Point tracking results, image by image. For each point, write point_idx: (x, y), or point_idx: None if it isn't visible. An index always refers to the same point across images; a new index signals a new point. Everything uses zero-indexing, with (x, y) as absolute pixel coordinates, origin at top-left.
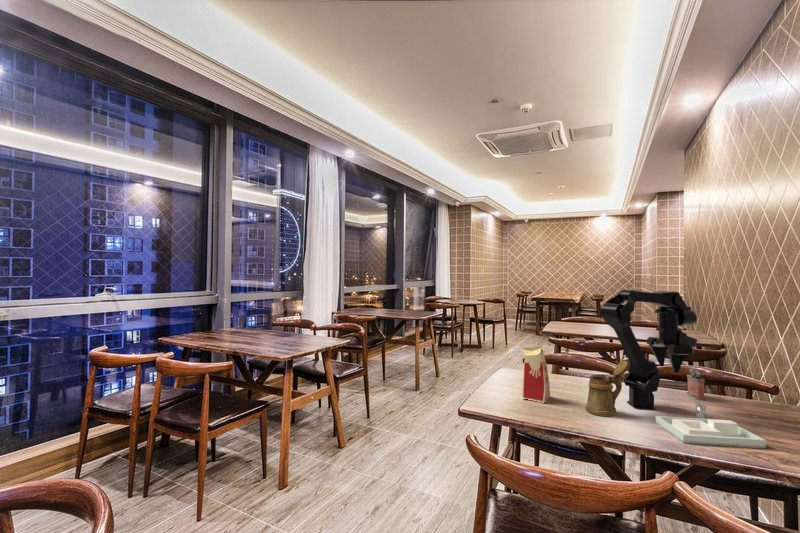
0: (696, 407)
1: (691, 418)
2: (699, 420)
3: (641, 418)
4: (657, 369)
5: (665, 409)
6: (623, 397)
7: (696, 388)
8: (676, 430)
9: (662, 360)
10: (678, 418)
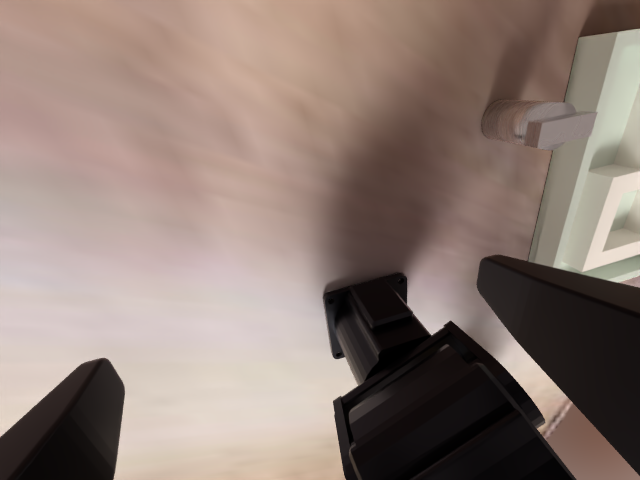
0: (540, 148)
1: (576, 200)
2: (612, 185)
3: (484, 322)
4: (541, 442)
5: (384, 230)
6: (257, 362)
7: None
8: (634, 276)
9: (66, 473)
10: (566, 245)
